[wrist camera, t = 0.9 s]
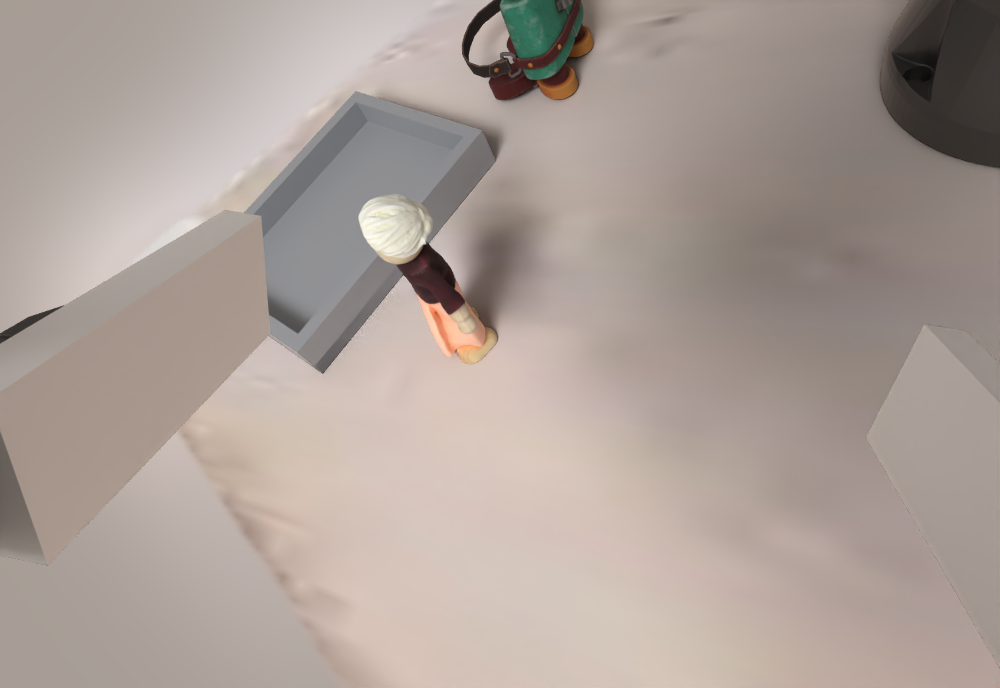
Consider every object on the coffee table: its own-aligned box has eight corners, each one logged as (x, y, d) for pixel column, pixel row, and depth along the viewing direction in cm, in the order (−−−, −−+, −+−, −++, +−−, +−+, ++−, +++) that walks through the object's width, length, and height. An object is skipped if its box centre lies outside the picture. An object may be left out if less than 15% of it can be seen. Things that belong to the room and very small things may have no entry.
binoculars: (446, -77, 47) (570, -114, 42) (503, 45, 55) (612, 26, 50) (401, 2, 44) (531, -28, 39) (468, 120, 52) (582, 108, 47)
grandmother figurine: (415, 328, 42) (308, 201, 32) (456, 289, 42) (364, 150, 32) (488, 396, 38) (392, 275, 27) (533, 351, 38) (456, 215, 28)
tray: (373, 119, 55) (355, 91, 52) (495, 160, 47) (482, 130, 45) (213, 297, 50) (186, 275, 47) (322, 373, 43) (297, 352, 40)
